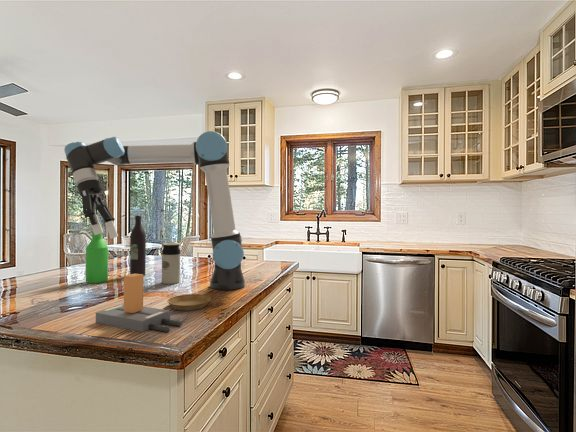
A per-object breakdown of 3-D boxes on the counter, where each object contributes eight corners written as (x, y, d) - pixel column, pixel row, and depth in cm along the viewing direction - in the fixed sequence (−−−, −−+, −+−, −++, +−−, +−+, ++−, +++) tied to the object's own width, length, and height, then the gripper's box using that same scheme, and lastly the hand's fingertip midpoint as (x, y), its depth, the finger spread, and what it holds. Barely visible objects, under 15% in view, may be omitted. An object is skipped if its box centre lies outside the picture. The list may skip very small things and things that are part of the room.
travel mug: (172, 279, 163) (173, 242, 163) (183, 282, 159) (183, 243, 158) (157, 282, 157) (158, 243, 157) (168, 285, 152) (168, 244, 152)
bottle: (100, 284, 152) (101, 227, 151) (81, 283, 152) (81, 227, 151) (111, 280, 161) (111, 226, 160) (92, 279, 161) (93, 226, 160)
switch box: (95, 322, 102) (95, 312, 102) (125, 312, 112) (126, 303, 112) (161, 335, 92) (161, 324, 92) (187, 323, 102) (188, 313, 102)
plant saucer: (193, 315, 111) (193, 307, 111) (157, 309, 117) (157, 301, 117) (219, 304, 125) (219, 296, 125) (186, 299, 131) (186, 292, 131)
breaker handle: (123, 311, 102) (124, 275, 102) (134, 308, 106) (134, 273, 106) (132, 313, 101) (132, 276, 100) (143, 309, 104) (143, 274, 104)
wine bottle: (130, 275, 173) (130, 215, 172) (145, 274, 176) (145, 215, 175) (129, 277, 166) (130, 215, 166) (145, 276, 169) (146, 215, 169)
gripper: (92, 193, 139) (110, 242, 137) (59, 177, 115) (79, 236, 112) (111, 187, 140) (129, 235, 138) (81, 169, 116) (102, 227, 113)
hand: (107, 235), depth 125 cm, fingers open, 13 cm apart
